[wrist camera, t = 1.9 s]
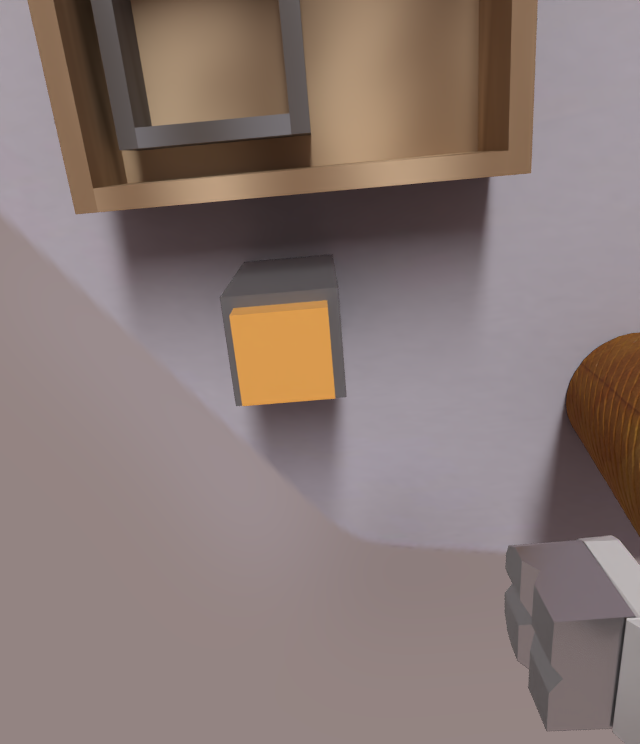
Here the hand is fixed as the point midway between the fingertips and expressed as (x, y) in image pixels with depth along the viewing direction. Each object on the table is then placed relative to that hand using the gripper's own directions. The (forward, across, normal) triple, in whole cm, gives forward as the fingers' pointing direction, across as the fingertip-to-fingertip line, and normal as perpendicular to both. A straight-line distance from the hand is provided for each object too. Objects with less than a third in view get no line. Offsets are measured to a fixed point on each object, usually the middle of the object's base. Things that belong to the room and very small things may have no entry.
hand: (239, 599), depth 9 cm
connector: (+19, 0, 0) cm, 19 cm away
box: (+19, -1, -10) cm, 22 cm away
